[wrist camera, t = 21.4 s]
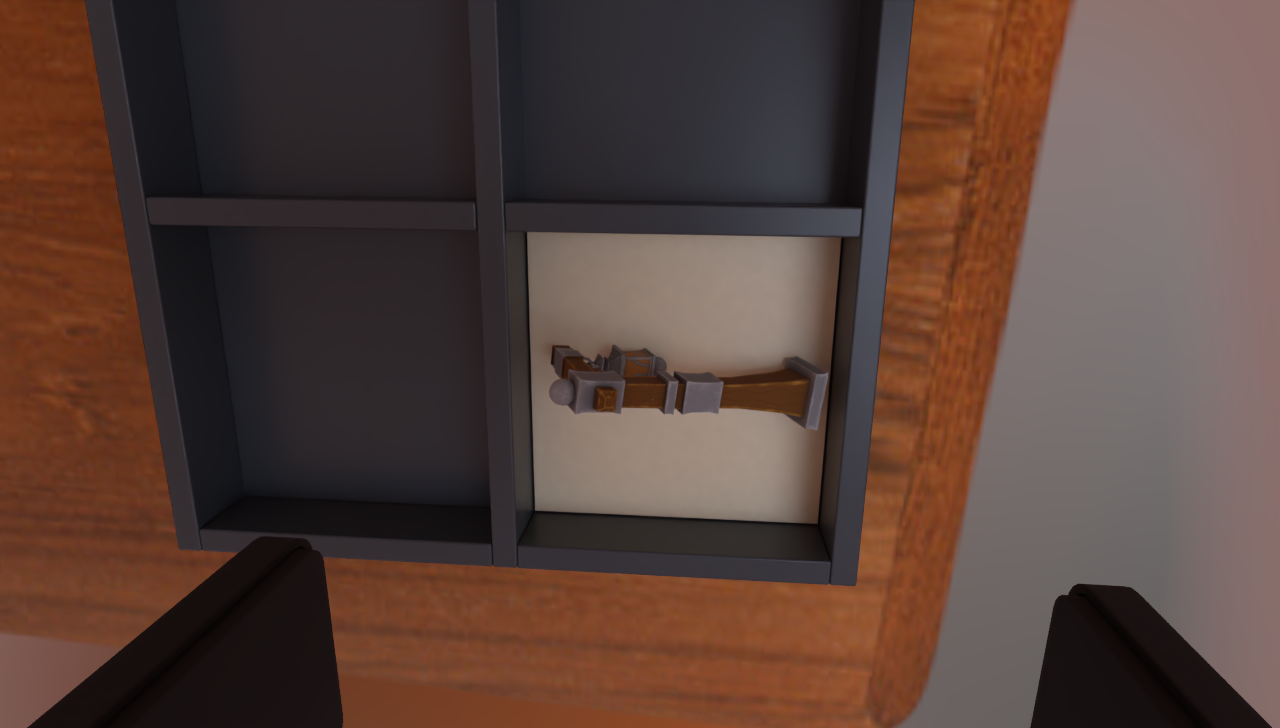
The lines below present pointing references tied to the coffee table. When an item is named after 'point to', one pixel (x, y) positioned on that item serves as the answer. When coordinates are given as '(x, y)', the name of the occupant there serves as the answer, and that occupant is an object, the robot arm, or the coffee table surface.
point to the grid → (507, 269)
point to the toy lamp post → (682, 386)
